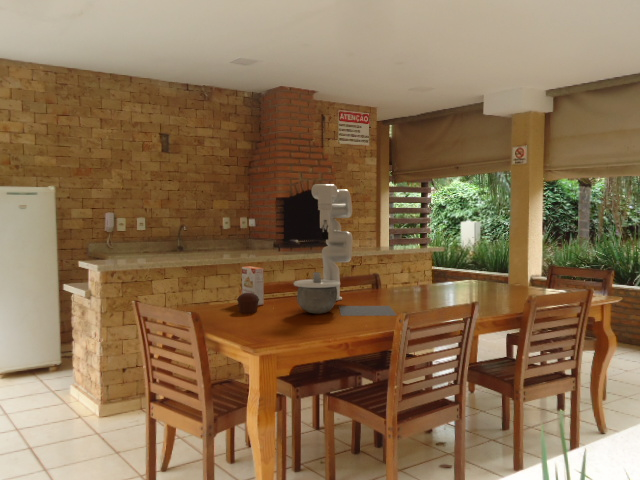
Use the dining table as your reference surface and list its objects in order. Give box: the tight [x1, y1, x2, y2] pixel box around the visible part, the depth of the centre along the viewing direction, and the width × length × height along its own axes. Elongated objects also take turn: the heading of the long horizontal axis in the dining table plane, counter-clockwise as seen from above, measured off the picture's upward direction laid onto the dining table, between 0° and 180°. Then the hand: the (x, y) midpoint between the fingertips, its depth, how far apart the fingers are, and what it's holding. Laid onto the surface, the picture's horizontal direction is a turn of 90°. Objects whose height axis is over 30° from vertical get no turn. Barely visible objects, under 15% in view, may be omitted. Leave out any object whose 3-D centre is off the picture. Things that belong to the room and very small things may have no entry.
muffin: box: [236, 293, 259, 315], centre depth 310 cm, size 12×11×10 cm
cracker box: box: [241, 265, 265, 307], centre depth 334 cm, size 14×6×21 cm, turn 40°
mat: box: [338, 305, 398, 317], centre depth 311 cm, size 28×28×1 cm
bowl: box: [296, 287, 337, 315], centre depth 306 cm, size 20×20×15 cm
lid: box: [293, 271, 341, 288], centre depth 306 cm, size 24×24×6 cm
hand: (325, 238), depth 323 cm, fingers open, 9 cm apart
